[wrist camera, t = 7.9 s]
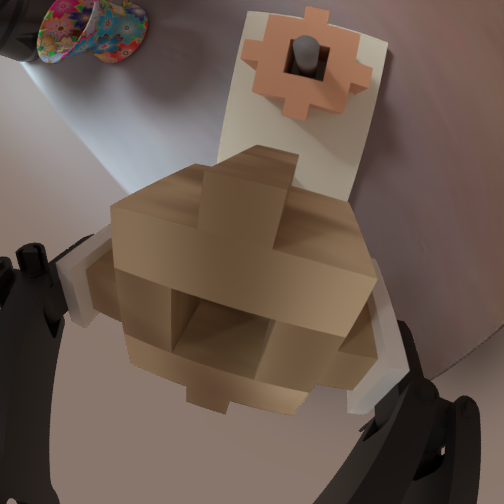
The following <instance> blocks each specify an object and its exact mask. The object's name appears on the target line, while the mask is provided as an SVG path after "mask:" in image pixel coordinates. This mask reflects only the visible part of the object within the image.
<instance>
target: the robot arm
mask: <svg viewBox="0 0 504 504" xmlns="http://www.w3.org/2000/svg"><path fill="white" fill-rule="evenodd" d="M55 1H56V0H0V55H2V56H5V57H8V58H11V59H14V60H16V61H21V62H23V61H33V60H35V59H37V58H38V57H39V54H38V49H37V40H38V34H39V30H40V27H41V24H42V22H43V20H44V18H45V16H46V14H47V12H48V10H49V9H50V7H51V6H52V5H53V3H54V2H55ZM111 249H112V234H111V224H109V225H108V226H106V227H105V228H103V229H102V230H100V231H99V232H97V233H96V234H92V235H89V236H86V237H84V238H82V239H80V240H79V241H78V242H76V243H75V245H72V246H71V247H69V249H66V250H65V251H64V252H63V253H61V254H60V255H58V256H57V257H56V258H55V259H53V260H52V261H50V262H49V263H48V260H47V256H46V251H45V247H44V245H42V244H40V243H29V244H26V245H24V246H22V247H21V248H19V249H18V250H17V251H16V257H17V260H18V264H19V267H20V270H19V269H13V266H12V262H11V260H10V258H8V257H0V308H1V309H0V504H6V502H7V501H8V499H9V498H13V499H14V500H16V502H17V504H60V503H59V499H58V496H57V494H56V492H55V491H54V489H53V487H52V485H51V481H50V466H49V465H50V464H49V433H50V432H49V431H50V414H51V402H52V393H53V392H52V391H53V384H54V376H55V370H56V364H57V358H58V353H59V348H60V343H61V338H62V333H63V329H64V325H65V319H64V316H63V315H64V314H65V313H66V312H67V311H69V314H70V317H71V320H72V321H73V322H74V323H76V324H78V325H80V326H82V327H83V328H86V327H87V326H88V325H89V324H90V323H91V322H92V321H93V319H94V318H95V317H96V316H97V315H98V314H99V313H100V312H99V311H97V310H95V309H93V304H92V300H91V295H90V291H89V286H88V281H87V275H86V269H87V268H89V267H90V266H91V265H92V264H93V263H95V262H96V261H97V260H98V259H99V258H101V257H102V256H103V255H104V254H106V253H107V252H108V251H109V250H111ZM371 261H372V264H373V266H374V269H375V272H376V275H377V278H378V280H377V282H376V284H375V286H374V287H373V289H372V291H371V293H370V295H369V297H368V299H367V303H368V307H369V312H370V317H371V322H372V327H373V332H374V338H375V343H376V349H377V355H378V360H377V361H376V362H375V364H374V365H373V366H372V368H371V369H370V370H369V371H368V373H367V374H366V375H365V376H364V378H363V379H362V380H361V381H360V382H359V384H358V385H357V386H356V387H355V388H354V389H353V391H352V390H347V413H352V414H360V415H366V414H367V413H369V412H370V411H371V410H372V409H373V408H374V407H375V417H373V419H371V420H370V421H369V422H368V423H367V424H365V425H364V426H363V427H362V428H361V429H360V430H359V431H360V432H362V431H363V430H364V429H365V430H364V432H363V434H362V435H361V437H360V439H359V440H358V442H357V443H356V445H355V447H354V448H353V450H352V451H351V453H350V454H349V456H348V457H347V459H346V461H345V462H344V463H343V465H342V466H341V468H340V469H339V470H338V472H337V473H336V475H335V476H334V478H333V479H332V480H331V481H330V483H329V484H328V485H327V487H326V488H325V489H324V491H323V492H322V493H321V494H320V495H319V497H318V498H317V499H316V501H315V502H314V503H313V504H477V497H478V489H479V479H480V463H481V431H480V429H481V428H480V413H479V408H478V406H477V404H476V402H475V401H474V400H473V399H472V398H470V397H468V396H461V397H459V398H458V399H457V400H456V401H455V402H453V403H452V402H450V401H448V400H445V399H443V398H440V397H439V393H438V390H437V388H436V386H435V385H434V384H433V383H432V382H431V381H430V380H428V379H426V378H424V376H423V372H422V368H421V364H420V360H419V357H418V353H417V351H416V346H415V343H414V342H413V341H414V340H413V337H412V333H411V331H410V329H409V328H408V326H407V325H406V324H405V322H404V321H400V320H396V317H395V314H394V310H393V307H392V304H391V301H390V298H389V295H388V292H387V289H386V286H385V283H384V280H383V277H382V274H381V271H380V269H379V266H378V263H377V261H376V259H373V258H371ZM444 447H445V454H443V455H441V449H442V448H444Z"/></svg>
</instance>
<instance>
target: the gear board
mask: <svg viewBox="0 0 504 504" xmlns="http://www.w3.org/2000/svg"><path fill="white" fill-rule="evenodd" d="M329 13H330V11H328V10H323V9H319V8H314V7H309V6H306V10H305V14H304V18H300V17H294V16H288V15H281V14H274V13H266V12H256V11H248V12H247V16H246V20H245V24H244V28H243V32H242V37H241V41H240V45H239V50H238V54H237V58H236V63H235V68H234V72H233V77H232V82H231V87H230V92H229V97H228V102H227V107H226V112H225V118H224V123H223V129H222V134H221V140H220V146H219V152H218V158H217V164H218V163H220V162H222V161H224V160H226V159H228V158H230V157H232V156H234V155H236V154H238V153H240V152H242V151H244V150H246V149H248V148H251V147H253V146H255V145H262V146H266V147H271V148H275V149H279V150H283V151H287V152H291V153H295V154H299V158H298V162H297V166H296V170H295V174H294V178H293V182H292V186H294V187H298V188H302V189H305V190H309V191H312V192H316V193H319V194H323V195H326V196H329V197H333V198H336V199H339V200H342V201H346V202H348V199H349V196H350V193H351V189H352V186H353V183H354V180H355V177H356V173H357V170H358V167H359V163H360V160H361V157H362V153H363V150H364V146H365V142H366V139H367V135H368V131H369V128H370V124H371V120H372V116H373V112H374V108H375V104H376V99H377V95H378V91H379V86H380V82H381V77H382V72H383V67H384V62H385V57H386V52H387V46H388V43H387V42H385V41H382V40H379V39H377V38H374V37H371V36H368V35H365V34H362V33H359V32H356V31H353V30H349V29H346V28H342V27H339V26H335V25H331V24H328V18H329Z"/></svg>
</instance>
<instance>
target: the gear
mask: <svg viewBox="0 0 504 504" xmlns="http://www.w3.org/2000/svg"><path fill="white" fill-rule="evenodd" d="M298 158H299V154H295V153H291V152H287V151H283V150H279V149H275V148H271V147H266V146H262V145H255V146H253V147H251V148H248V149H246V150H244V151H242V152H240V153H238V154H236V155H234V156H232V157H230V158H228V159H226V160H224V161H222V162H220V163H218V164H216V165H214V166H213V167H210V166H205V165H200V164H193V165H191V166H189V167H186V168H184V169H182V170H180V171H178V172H175V173H173V174H171V175H169V176H167V177H165V178H163V179H161V180H159V181H157V182H155V183H153V184H151V185H149V186H147V187H145V188H143V189H141V190H139V191H137V192H135V193H133V194H131V195H129V196H127V197H126V198H124V199H122V200H120V201H118V202H117V203H115V204H113V205H111V206H110V210H111V211H110V212H111V234H112V249H111V250H109V251H108V252H107V253H106V254H104V255H103V256H102V257H101V258H99V259H98V260H97V261H96V262H95V263H93V264H92V265H91V266H90V267H89V268H87V269H86V275H87V281H88V286H89V291H90V295H91V300H92V304H93V309H95V310H97V311H99V312H101V313H103V314H105V315H108V316H109V317H111V318H114V319H116V320H118V321H120V322H122V324H123V330H124V335H125V340H126V345H127V349H128V354H129V359H130V363H131V364H133V365H135V366H137V367H139V368H142V369H144V370H146V371H148V372H151V373H153V374H155V375H158V376H160V377H163V378H165V379H168V380H170V381H173V382H175V383H178V384H181V385H183V386H186V387H187V395H186V397H187V398H186V399H187V402H189V403H192V404H195V405H198V406H200V407H204V408H206V409H210V410H213V411H216V412H219V413H222V414H226V411H227V408H228V405H229V402H230V401H232V402H235V403H239V404H242V405H246V406H250V407H254V408H258V409H262V410H266V411H270V412H274V413H279V414H284V415H289V416H293V415H294V413H295V412H296V411H297V409H298V408H299V407H300V405H301V404H302V403H303V401H304V400H305V398H306V397H307V396H308V394H309V393H310V392H311V390H312V389H313V387H314V386H315V384H317V385H323V386H328V387H333V388H339V389H345V390H352V391H353V389H354V388H355V387H356V386H357V385H358V384H359V382H360V381H361V380H362V379H363V378H364V376H365V375H366V374H367V373H368V371H369V370H370V369H371V368H372V366H373V365H374V364H375V362H376V361H377V360H378V355H377V349H376V343H375V338H374V332H373V327H372V322H371V317H370V312H369V307H368V303H367V299H368V297H369V295H370V293H371V291H372V289H373V287H374V286H375V284H376V282H377V280H378V278H377V275H376V272H375V269H374V266H373V264H372V261H371V258H370V255H369V252H368V249H367V247H366V244H365V241H364V239H363V236H362V233H361V231H360V228H359V226H358V223H357V220H356V218H355V216H354V213H353V211H352V208H351V206H350V203H349V202H346V201H342V200H339V199H336V198H333V197H329V196H326V195H323V194H319V193H316V192H312V191H309V190H305V189H302V188H298V187H294V186H292V182H293V178H294V174H295V170H296V166H297V162H298Z"/></svg>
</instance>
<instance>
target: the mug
mask: <svg viewBox="0 0 504 504" xmlns="http://www.w3.org/2000/svg"><path fill="white" fill-rule="evenodd" d="M128 1H129V0H123V3H122V5H116V4H113V3H111V2H109V1H108V0H56V1H55V2H54V3H53V5H52V6H51V7H50V9H49V10H48V12H47V14H46V16H45V18H44V20H43V22H42V24H41V27H40V30H39V34H38V40H37V49H38V54H39V56H40V58H41V60H42V61H44V62H45V63H48V64H54V63H58V62H60V61H62V60H64V59H66V58H68V57H71V56H74V55H79V54H91V55H95V56H97V58H98V59H99V60H101V61H102V62H105V63H116V62H119V61H121V60H123V59H125V58H127V57H128V56H130V55H131V54H132V53H133V52H134V51H135V50H136V49H137V48H138V46H139V45H140V44H141V42H142V40H143V39H144V37H145V34H146V31H147V27H148V17H147V14H146V12H145V10H144V9H143V8H142V7H140V6H138V5H133V3H132V2H129V3H128Z"/></svg>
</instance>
